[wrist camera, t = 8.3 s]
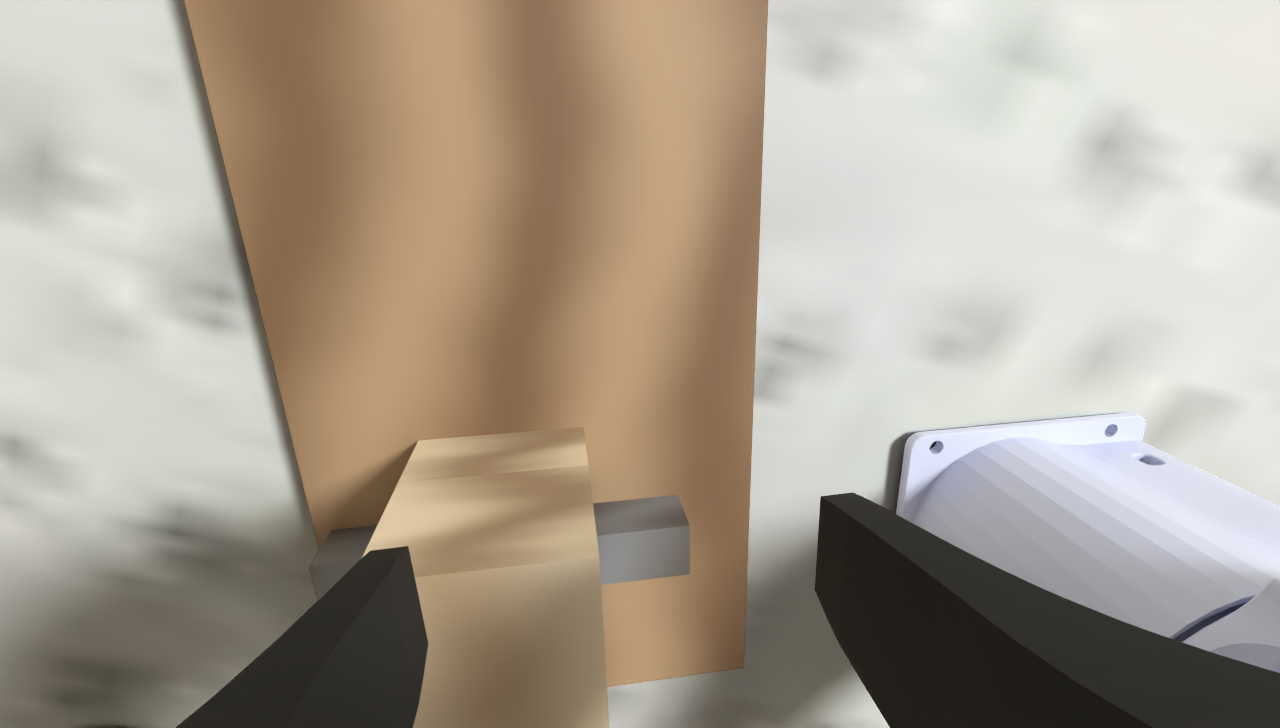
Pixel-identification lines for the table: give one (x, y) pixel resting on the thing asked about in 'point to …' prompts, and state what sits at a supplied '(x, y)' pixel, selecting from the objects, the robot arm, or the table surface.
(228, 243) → the table surface
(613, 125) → the board
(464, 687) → the slotted block
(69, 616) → the table surface
